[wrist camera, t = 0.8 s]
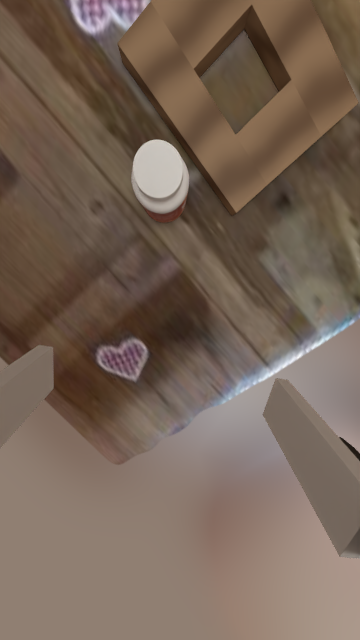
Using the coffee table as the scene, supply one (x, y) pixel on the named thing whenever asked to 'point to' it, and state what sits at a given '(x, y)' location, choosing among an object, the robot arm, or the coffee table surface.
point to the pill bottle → (160, 180)
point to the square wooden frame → (200, 109)
